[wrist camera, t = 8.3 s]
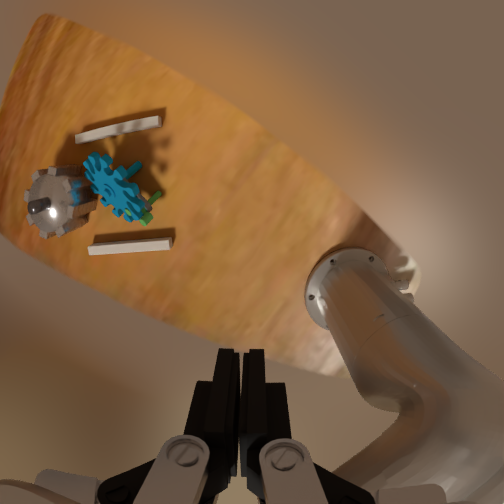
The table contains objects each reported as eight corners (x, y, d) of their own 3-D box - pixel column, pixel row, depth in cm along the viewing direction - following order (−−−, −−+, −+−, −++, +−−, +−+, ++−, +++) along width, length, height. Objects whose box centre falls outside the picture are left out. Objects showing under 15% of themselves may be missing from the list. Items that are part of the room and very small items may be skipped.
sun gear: (93, 159, 31) (54, 161, 23) (100, 224, 34) (64, 242, 25) (46, 171, 31) (6, 177, 22) (54, 230, 34) (16, 248, 25)
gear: (76, 181, 30) (84, 143, 23) (106, 155, 33) (125, 115, 26) (130, 239, 34) (155, 219, 27) (157, 209, 38) (189, 183, 30)
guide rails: (161, 117, 30) (157, 115, 29) (172, 246, 35) (169, 249, 34) (80, 135, 30) (75, 135, 29) (94, 251, 35) (89, 255, 33)
